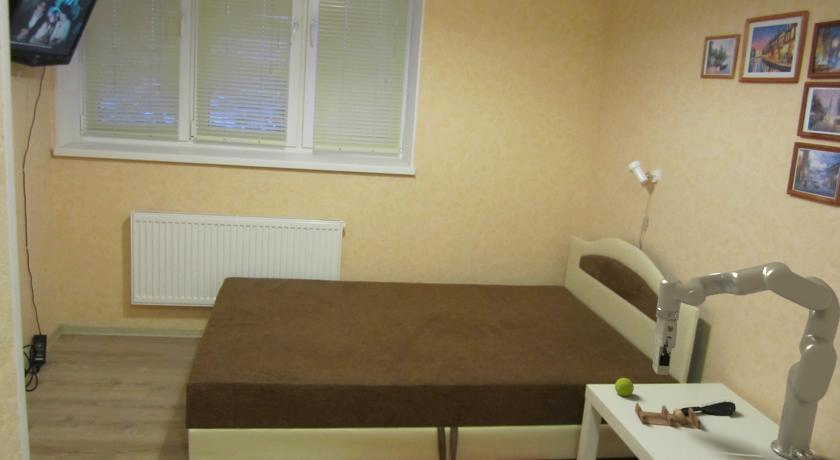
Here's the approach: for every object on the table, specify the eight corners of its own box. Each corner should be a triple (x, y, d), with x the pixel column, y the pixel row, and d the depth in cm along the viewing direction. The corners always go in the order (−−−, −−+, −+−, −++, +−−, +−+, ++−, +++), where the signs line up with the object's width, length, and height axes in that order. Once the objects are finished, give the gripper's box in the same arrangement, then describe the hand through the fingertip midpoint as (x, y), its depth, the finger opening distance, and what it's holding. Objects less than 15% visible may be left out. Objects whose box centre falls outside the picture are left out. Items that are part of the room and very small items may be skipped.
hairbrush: (670, 402, 245) (725, 396, 252) (669, 412, 245) (724, 405, 252) (685, 413, 237) (742, 405, 244) (684, 422, 238) (740, 415, 245)
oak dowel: (688, 425, 233) (687, 417, 232) (679, 425, 233) (678, 417, 233) (681, 415, 240) (681, 408, 239) (673, 416, 240) (672, 408, 239)
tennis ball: (613, 390, 260) (615, 373, 259) (632, 393, 258) (634, 376, 257) (614, 397, 254) (616, 380, 252) (632, 400, 252) (635, 383, 250)
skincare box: (669, 375, 230) (673, 342, 228) (656, 374, 231) (660, 341, 228) (663, 368, 236) (668, 336, 234) (651, 367, 237) (655, 335, 234)
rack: (699, 430, 231) (700, 420, 231) (641, 425, 232) (643, 415, 232) (689, 417, 241) (691, 407, 240) (634, 412, 242) (635, 403, 242)
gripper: (686, 322, 221) (679, 372, 224) (670, 307, 238) (664, 353, 241) (663, 320, 221) (656, 370, 224) (649, 305, 238) (643, 352, 241)
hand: (660, 361), depth 233 cm, fingers closed on skincare box, 6 cm apart
